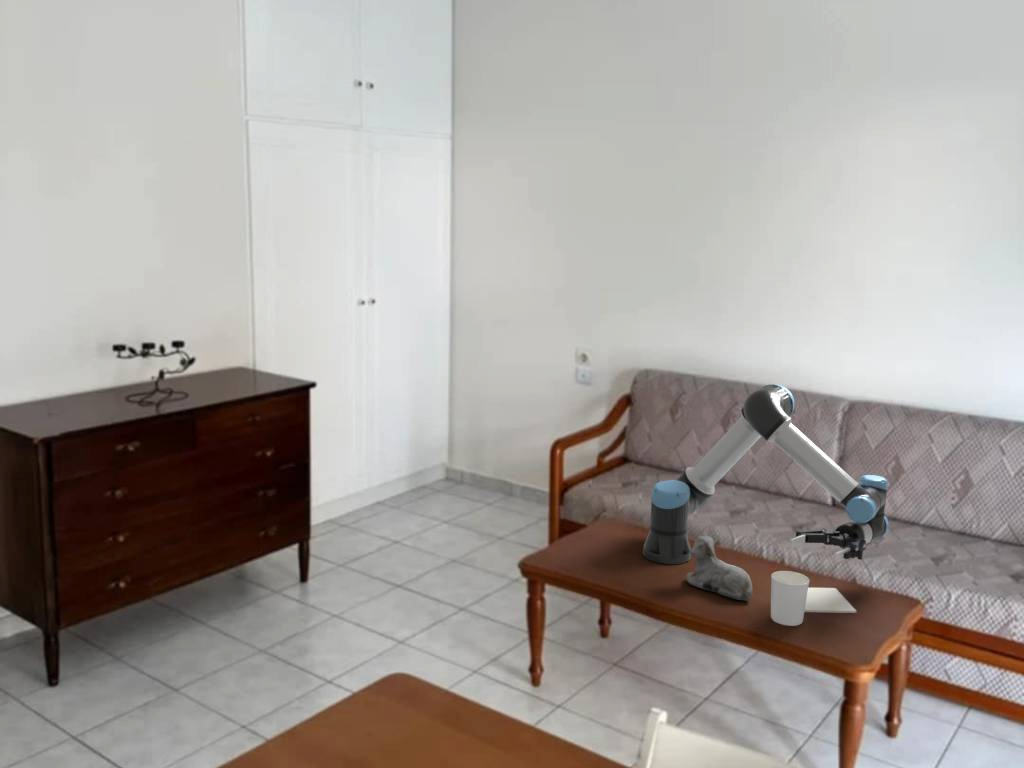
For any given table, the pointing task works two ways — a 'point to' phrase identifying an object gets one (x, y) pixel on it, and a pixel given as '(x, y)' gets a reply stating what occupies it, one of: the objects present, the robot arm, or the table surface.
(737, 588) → the sculpture
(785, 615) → the candle holder
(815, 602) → the tile
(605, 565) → the table surface
